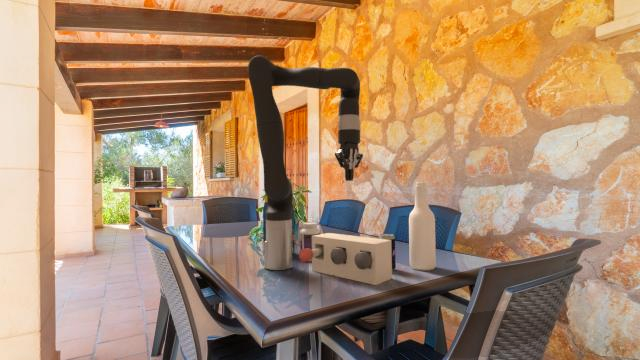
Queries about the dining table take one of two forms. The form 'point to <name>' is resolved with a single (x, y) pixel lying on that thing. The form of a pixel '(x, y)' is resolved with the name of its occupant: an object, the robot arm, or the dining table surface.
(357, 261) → the knob
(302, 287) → the dining table surface
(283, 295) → the dining table surface
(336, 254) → the knob
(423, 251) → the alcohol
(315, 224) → the pill bottle
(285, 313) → the dining table surface
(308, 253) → the red knob
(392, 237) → the beverage can
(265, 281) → the dining table surface
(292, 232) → the dark thin upright pieces
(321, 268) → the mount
